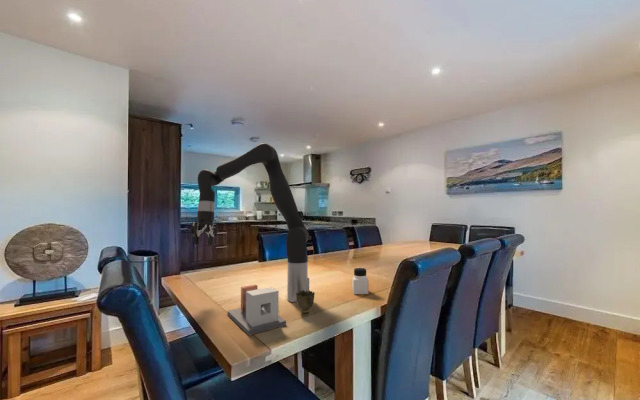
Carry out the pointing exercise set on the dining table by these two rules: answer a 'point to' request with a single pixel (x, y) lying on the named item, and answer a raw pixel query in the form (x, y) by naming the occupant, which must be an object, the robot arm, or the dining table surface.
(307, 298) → the cup
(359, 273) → the medicine bottle
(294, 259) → the robot arm
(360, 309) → the dining table surface
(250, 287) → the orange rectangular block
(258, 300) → the peg hole fixture
